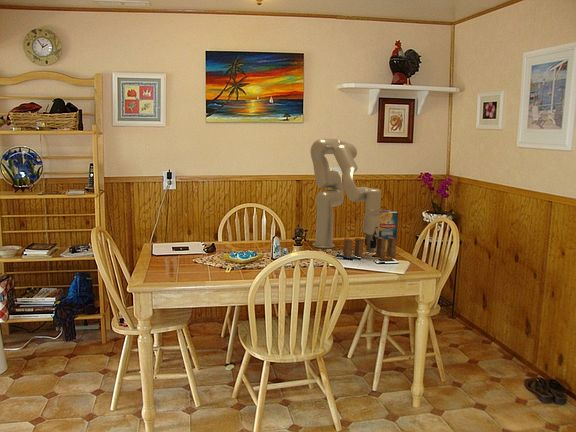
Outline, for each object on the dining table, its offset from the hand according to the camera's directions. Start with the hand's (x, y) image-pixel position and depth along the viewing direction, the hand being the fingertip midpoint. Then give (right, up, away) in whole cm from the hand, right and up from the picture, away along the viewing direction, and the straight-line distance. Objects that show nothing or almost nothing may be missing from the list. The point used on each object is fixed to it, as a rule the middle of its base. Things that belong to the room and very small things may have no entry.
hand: (370, 246), depth 290 cm
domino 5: (+12, -6, +6) cm, 14 cm away
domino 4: (+6, -6, +3) cm, 9 cm away
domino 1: (-13, -6, -3) cm, 14 cm away
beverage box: (+10, -3, +19) cm, 22 cm away
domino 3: (0, -3, 0) cm, 3 cm away
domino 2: (-7, -6, -1) cm, 9 cm away
